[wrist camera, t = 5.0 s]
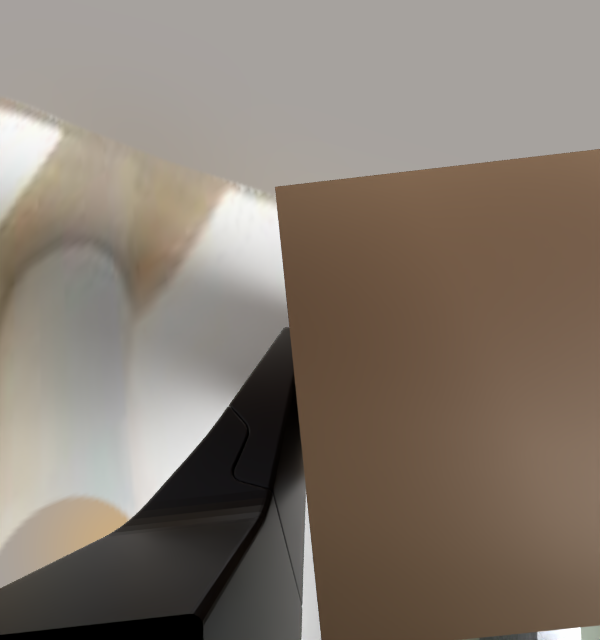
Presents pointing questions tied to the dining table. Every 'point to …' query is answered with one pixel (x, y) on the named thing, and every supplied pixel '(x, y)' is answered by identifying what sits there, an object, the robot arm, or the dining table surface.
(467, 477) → the walnut post
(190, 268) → the dining table surface
